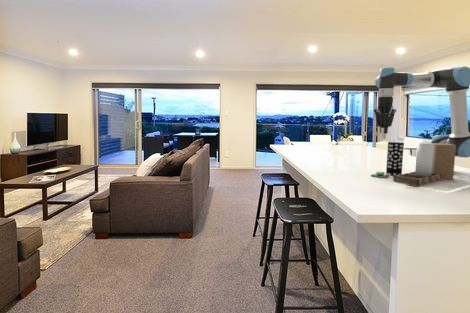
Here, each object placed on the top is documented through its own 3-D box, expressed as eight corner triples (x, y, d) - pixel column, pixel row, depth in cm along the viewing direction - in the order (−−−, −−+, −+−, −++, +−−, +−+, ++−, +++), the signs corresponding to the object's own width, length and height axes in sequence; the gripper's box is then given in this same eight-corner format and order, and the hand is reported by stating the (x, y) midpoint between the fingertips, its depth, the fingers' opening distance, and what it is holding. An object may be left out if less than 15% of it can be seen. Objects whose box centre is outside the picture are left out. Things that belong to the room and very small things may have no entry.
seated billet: (419, 177, 198) (421, 142, 196) (433, 180, 192) (436, 143, 189) (412, 179, 193) (414, 143, 191) (427, 181, 187) (429, 144, 184)
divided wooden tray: (416, 178, 202) (417, 171, 201) (440, 181, 191) (441, 174, 191) (393, 183, 186) (393, 175, 186) (418, 187, 176) (418, 179, 176)
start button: (378, 176, 202) (378, 171, 202) (385, 177, 199) (386, 172, 199) (374, 177, 200) (374, 171, 199) (381, 178, 196) (381, 173, 196)
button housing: (377, 176, 204) (377, 173, 204) (389, 178, 199) (389, 175, 199) (370, 178, 200) (371, 174, 200) (382, 180, 195) (382, 176, 194)
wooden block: (453, 181, 193) (456, 144, 190) (433, 180, 195) (436, 144, 192) (446, 178, 202) (449, 143, 200) (427, 177, 204) (429, 142, 202)
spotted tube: (400, 175, 209) (402, 142, 207) (402, 178, 201) (404, 143, 199) (385, 174, 212) (387, 141, 209) (386, 177, 204) (388, 142, 201)
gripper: (371, 96, 198) (369, 138, 201) (392, 95, 187) (389, 140, 190) (379, 97, 202) (377, 138, 205) (400, 96, 191) (398, 139, 194)
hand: (383, 139), depth 197 cm, fingers closed
